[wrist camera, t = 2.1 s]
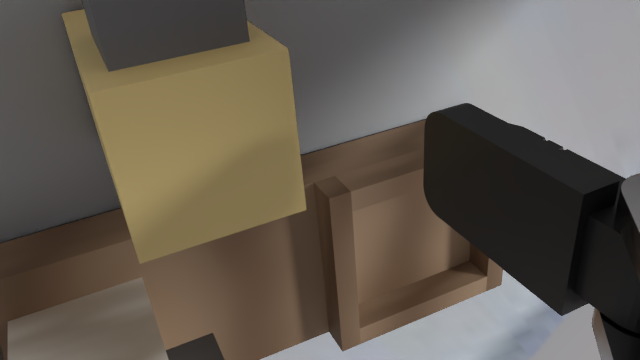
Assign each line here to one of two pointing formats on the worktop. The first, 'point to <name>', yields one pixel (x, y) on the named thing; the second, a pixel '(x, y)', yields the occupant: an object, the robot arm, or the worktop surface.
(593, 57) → the worktop surface
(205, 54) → the yellow and grey box
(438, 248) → the rail
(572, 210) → the robot arm
